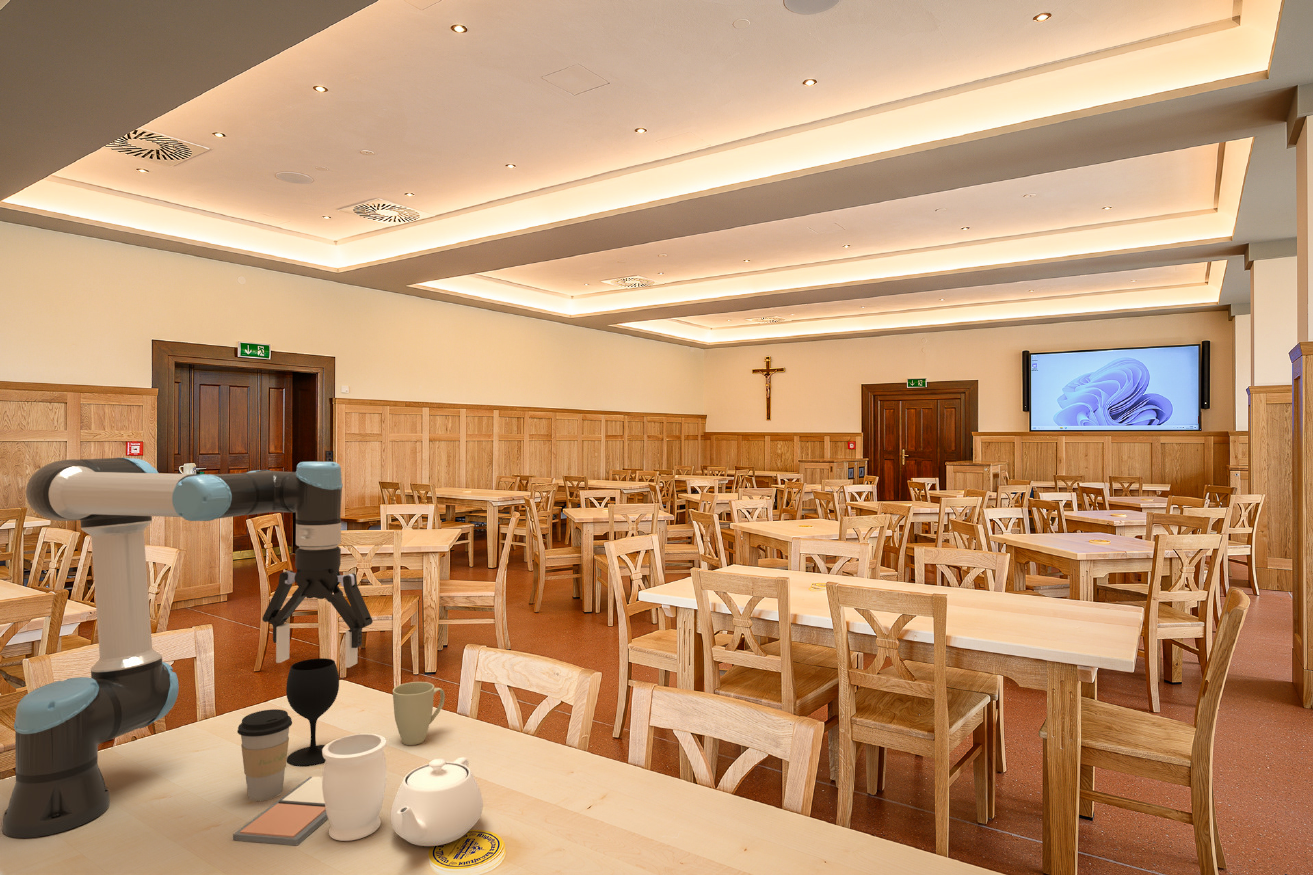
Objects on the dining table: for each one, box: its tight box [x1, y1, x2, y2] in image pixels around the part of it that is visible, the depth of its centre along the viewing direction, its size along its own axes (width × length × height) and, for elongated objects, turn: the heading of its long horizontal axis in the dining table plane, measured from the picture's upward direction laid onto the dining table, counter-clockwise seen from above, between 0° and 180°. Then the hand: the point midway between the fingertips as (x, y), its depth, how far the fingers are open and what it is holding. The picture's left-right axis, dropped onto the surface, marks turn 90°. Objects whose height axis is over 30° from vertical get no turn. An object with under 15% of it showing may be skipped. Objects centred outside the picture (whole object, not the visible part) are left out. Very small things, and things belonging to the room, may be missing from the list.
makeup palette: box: [232, 776, 329, 847], centre depth 138 cm, size 12×22×2 cm, turn 172°
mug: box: [392, 681, 446, 746], centre depth 171 cm, size 11×10×12 cm
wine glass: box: [285, 658, 340, 768], centre depth 162 cm, size 10×10×20 cm
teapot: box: [390, 756, 484, 847], centre depth 131 cm, size 25×16×12 cm, turn 170°
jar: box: [321, 733, 388, 842], centre depth 132 cm, size 11×10×15 cm
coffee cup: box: [237, 708, 293, 802], centre depth 145 cm, size 9×9×15 cm
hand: (316, 663), depth 136 cm, fingers open, 13 cm apart
